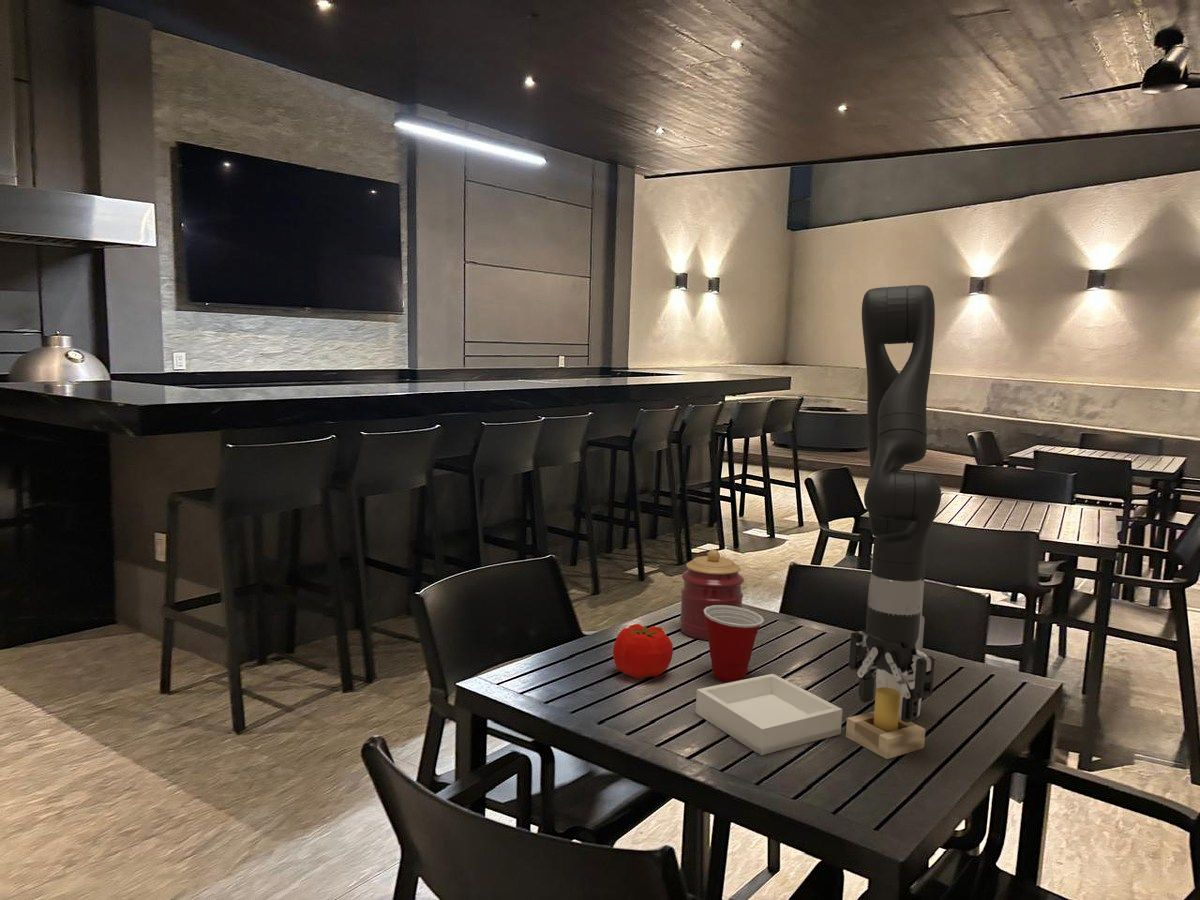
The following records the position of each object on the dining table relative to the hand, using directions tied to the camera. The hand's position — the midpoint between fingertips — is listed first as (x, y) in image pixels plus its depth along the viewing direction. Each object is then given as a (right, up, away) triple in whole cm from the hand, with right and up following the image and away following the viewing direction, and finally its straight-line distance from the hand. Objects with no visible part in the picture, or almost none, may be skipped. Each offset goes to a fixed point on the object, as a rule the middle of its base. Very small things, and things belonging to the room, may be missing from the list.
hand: (886, 710), depth 125 cm
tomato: (-36, -1, +25) cm, 44 cm away
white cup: (+6, -4, +12) cm, 14 cm away
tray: (-17, -4, +6) cm, 18 cm away
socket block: (0, -5, +1) cm, 5 cm away
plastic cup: (-20, -2, +25) cm, 32 cm away
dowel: (0, -5, +1) cm, 5 cm away
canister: (-20, +1, +50) cm, 54 cm away
